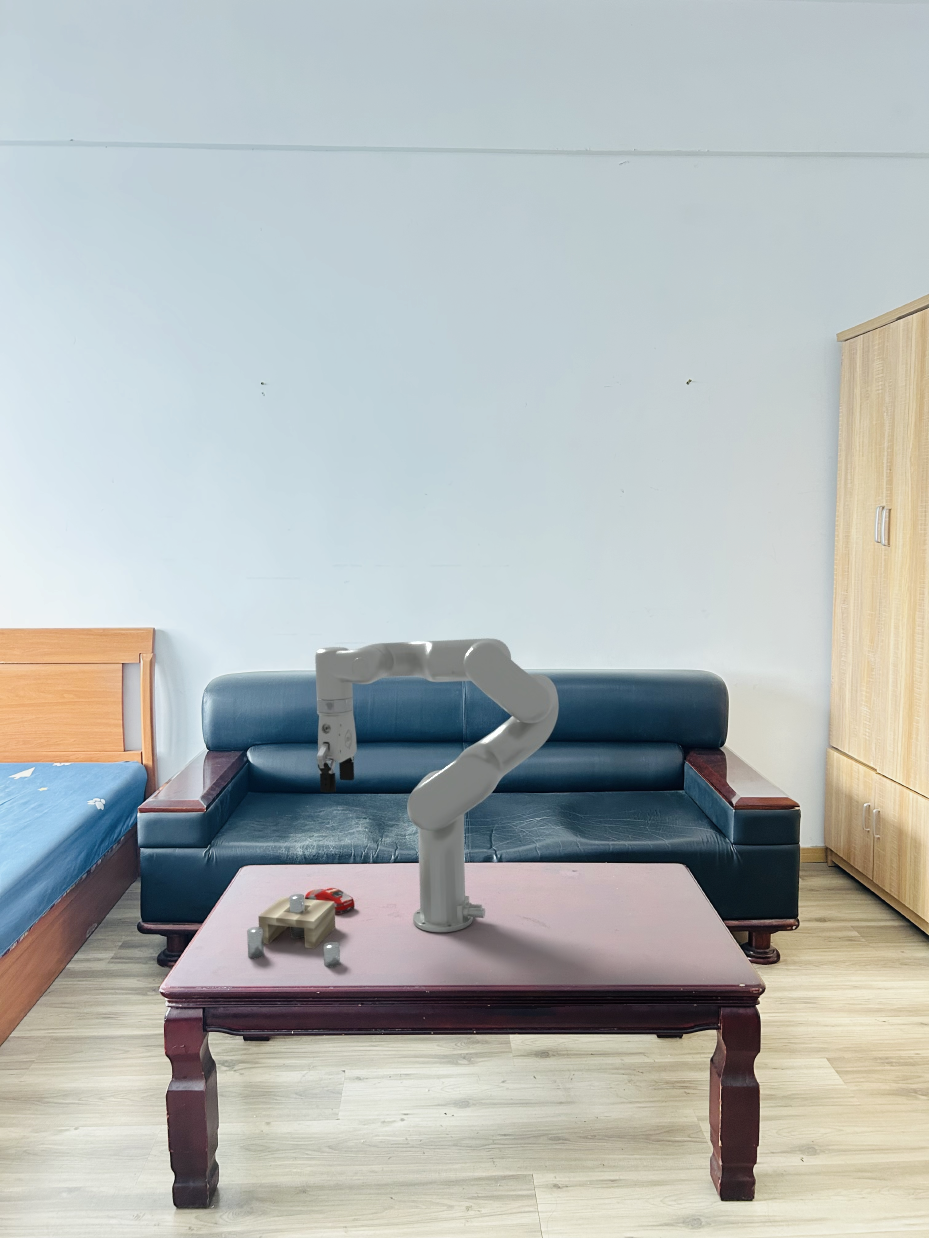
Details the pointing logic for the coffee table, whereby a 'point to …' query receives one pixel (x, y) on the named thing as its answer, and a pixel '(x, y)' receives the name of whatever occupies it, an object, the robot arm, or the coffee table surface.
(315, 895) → the race car
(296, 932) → the long pin
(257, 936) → the medium pin
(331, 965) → the short pin
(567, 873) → the coffee table surface
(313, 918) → the bridge
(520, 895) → the coffee table surface
